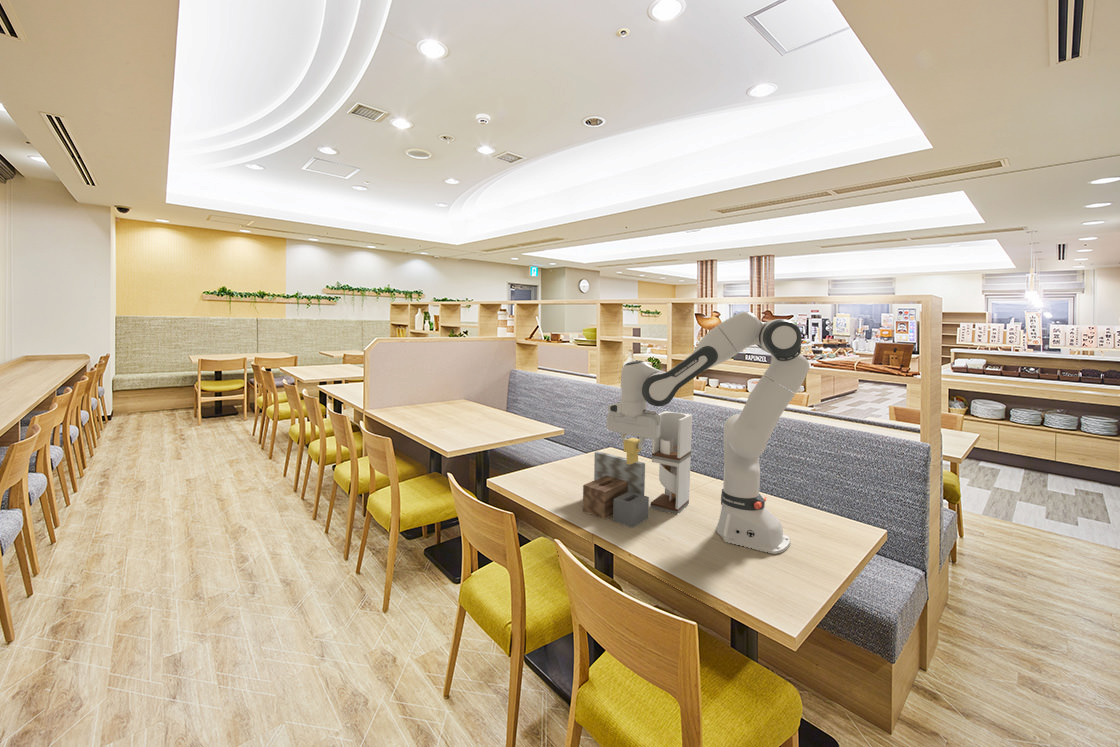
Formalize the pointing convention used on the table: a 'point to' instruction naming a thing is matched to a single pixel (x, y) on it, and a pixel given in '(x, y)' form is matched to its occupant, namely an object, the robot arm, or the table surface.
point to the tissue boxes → (611, 483)
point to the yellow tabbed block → (631, 450)
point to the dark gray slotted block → (630, 509)
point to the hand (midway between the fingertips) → (632, 447)
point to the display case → (673, 461)
